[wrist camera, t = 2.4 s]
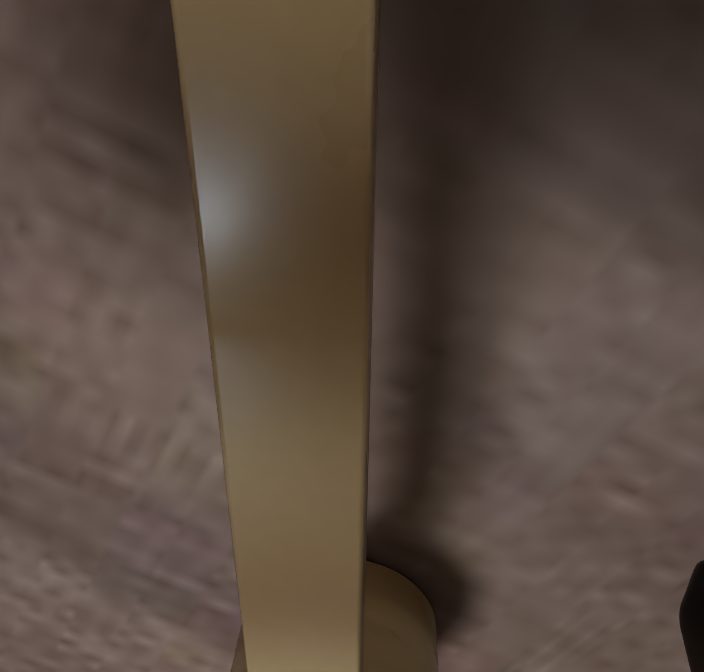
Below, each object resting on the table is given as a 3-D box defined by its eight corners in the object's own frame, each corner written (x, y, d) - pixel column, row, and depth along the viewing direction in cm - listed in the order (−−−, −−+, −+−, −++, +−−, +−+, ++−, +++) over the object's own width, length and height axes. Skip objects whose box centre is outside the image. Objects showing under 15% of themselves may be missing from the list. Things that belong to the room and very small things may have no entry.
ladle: (167, -106, 10) (-115, -174, 4) (513, -105, 10) (661, -175, 4) (252, 674, 19) (194, 958, 14) (429, 685, 19) (441, 980, 13)
